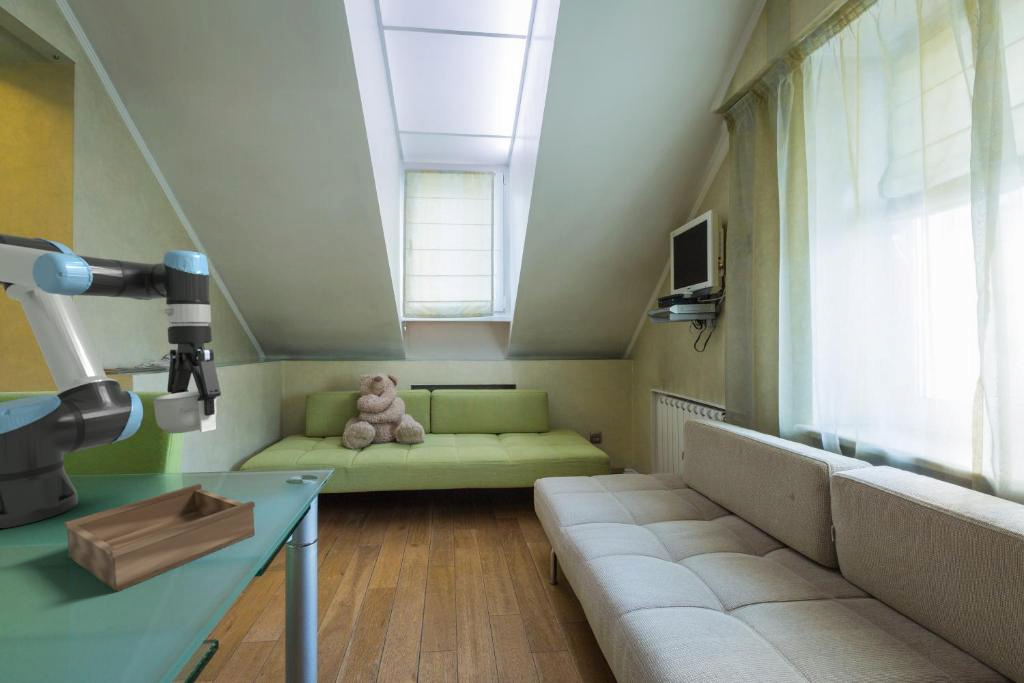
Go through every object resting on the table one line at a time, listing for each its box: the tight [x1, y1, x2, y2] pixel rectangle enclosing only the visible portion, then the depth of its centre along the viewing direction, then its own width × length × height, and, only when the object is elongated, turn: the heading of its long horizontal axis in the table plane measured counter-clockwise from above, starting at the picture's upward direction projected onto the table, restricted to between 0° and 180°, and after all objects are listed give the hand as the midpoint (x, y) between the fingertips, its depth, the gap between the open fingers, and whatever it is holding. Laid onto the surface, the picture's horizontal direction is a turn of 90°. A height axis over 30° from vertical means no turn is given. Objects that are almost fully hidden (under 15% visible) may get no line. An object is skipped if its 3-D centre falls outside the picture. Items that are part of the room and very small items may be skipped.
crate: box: [64, 483, 256, 593], centre depth 75 cm, size 20×19×6 cm
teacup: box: [151, 390, 218, 434], centre depth 95 cm, size 14×11×8 cm
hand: (194, 427), depth 95 cm, fingers closed on teacup, 11 cm apart
